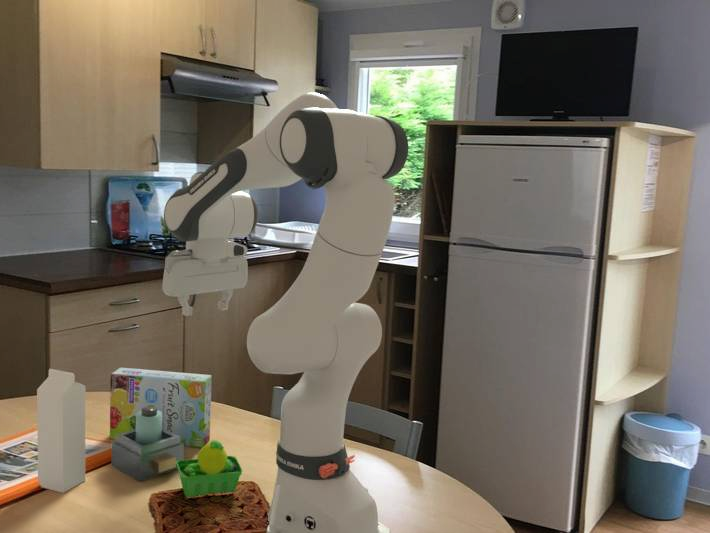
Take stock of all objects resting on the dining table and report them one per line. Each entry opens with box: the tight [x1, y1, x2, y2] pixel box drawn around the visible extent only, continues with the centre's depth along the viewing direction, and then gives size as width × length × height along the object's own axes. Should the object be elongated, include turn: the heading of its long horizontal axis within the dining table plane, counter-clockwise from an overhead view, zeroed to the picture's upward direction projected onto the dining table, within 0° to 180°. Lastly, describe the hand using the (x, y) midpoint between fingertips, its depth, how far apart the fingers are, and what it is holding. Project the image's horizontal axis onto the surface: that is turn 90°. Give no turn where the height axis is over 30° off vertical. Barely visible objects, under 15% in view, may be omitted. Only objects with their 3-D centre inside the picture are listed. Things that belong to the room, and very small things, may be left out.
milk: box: [36, 368, 86, 494], centre depth 138 cm, size 6×6×22 cm
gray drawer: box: [111, 428, 185, 483], centre depth 148 cm, size 12×10×6 cm
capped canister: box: [135, 407, 162, 446], centre depth 148 cm, size 5×5×7 cm
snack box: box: [109, 367, 213, 449], centre depth 162 cm, size 21×6×15 cm, turn 84°
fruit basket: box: [176, 439, 243, 498], centre depth 139 cm, size 11×9×11 cm
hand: (205, 312), depth 159 cm, fingers open, 8 cm apart
